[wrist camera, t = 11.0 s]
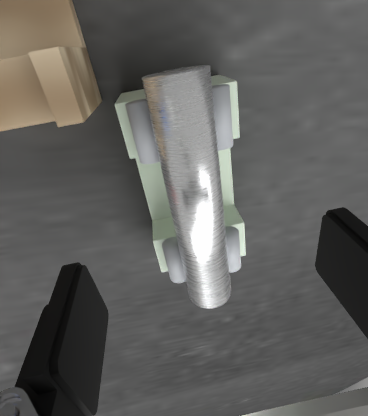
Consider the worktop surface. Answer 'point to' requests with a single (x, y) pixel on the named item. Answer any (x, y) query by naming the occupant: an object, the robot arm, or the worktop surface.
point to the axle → (192, 177)
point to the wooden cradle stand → (44, 65)
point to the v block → (154, 182)
